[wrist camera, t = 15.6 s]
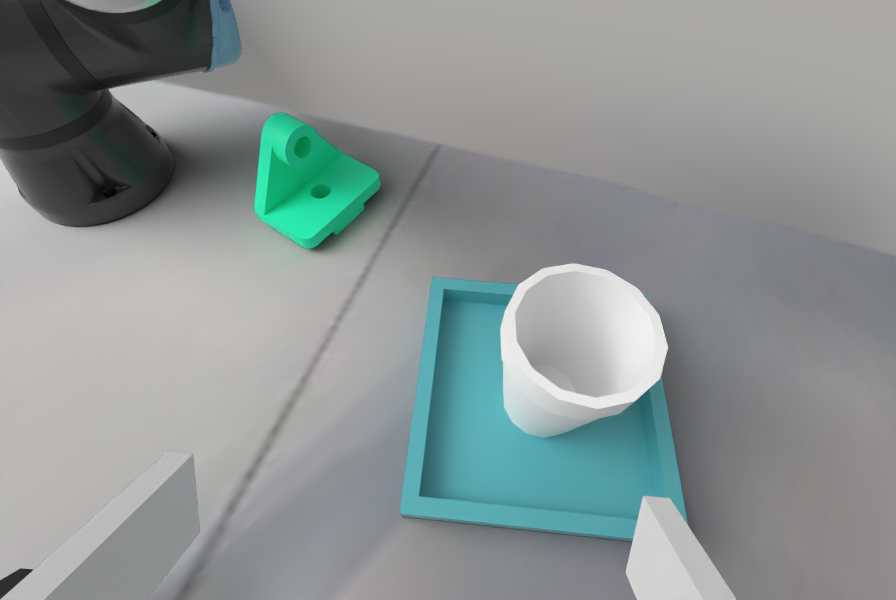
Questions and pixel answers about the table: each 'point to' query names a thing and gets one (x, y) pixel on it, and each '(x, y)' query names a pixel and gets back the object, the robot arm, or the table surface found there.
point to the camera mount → (308, 182)
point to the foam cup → (577, 348)
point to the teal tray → (521, 438)
